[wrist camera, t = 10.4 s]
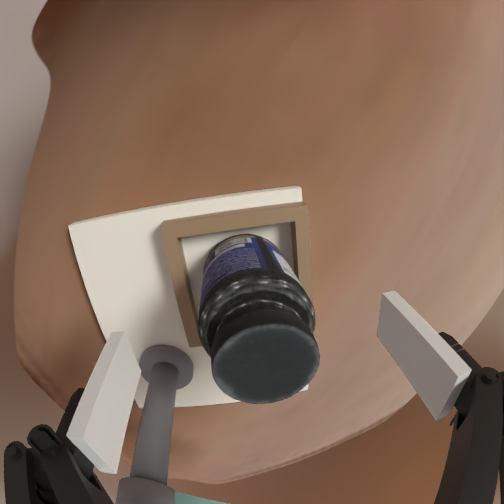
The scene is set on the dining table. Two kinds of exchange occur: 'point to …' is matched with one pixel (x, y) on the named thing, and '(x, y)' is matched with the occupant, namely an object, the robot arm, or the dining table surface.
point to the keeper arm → (153, 493)
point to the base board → (176, 293)
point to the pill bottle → (256, 322)
